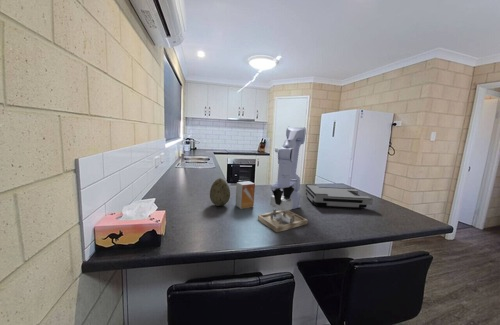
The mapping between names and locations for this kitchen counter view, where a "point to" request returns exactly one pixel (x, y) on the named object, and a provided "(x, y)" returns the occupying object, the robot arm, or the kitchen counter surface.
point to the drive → (282, 203)
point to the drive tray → (282, 220)
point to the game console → (336, 197)
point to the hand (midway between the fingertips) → (281, 203)
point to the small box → (245, 194)
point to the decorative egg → (219, 192)
